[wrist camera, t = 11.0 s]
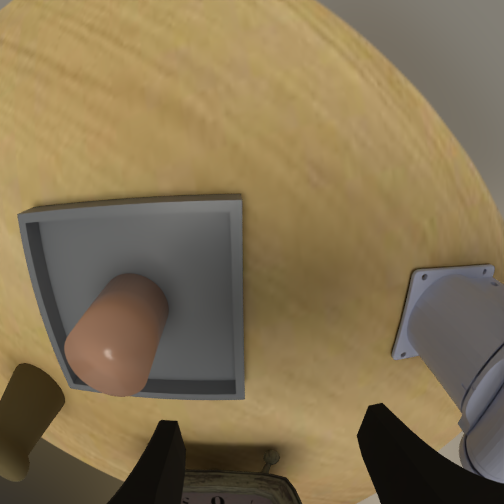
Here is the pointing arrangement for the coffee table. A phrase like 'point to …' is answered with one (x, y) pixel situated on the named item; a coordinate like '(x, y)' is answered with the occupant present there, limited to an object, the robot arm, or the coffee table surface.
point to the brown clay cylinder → (119, 336)
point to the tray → (157, 270)
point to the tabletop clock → (239, 486)
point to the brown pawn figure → (25, 417)
